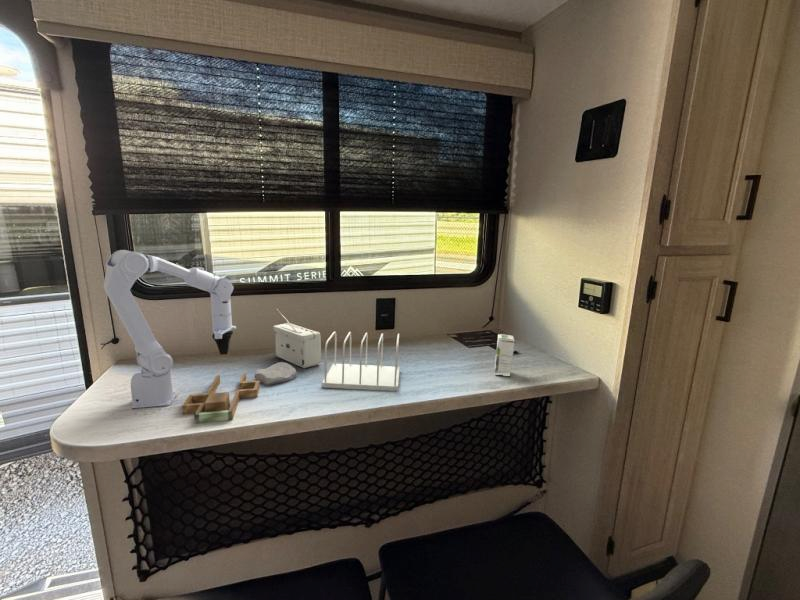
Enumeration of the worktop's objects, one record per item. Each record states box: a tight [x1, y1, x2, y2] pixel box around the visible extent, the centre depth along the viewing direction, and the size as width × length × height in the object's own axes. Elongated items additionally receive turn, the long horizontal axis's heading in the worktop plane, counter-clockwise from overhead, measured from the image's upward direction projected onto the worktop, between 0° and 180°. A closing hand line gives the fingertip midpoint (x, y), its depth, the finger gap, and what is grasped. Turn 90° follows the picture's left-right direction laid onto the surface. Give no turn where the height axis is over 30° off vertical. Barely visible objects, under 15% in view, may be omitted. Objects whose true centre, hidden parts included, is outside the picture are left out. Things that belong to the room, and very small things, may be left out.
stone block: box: [254, 361, 298, 386], centre depth 126 cm, size 12×5×10 cm
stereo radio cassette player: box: [272, 308, 322, 369], centre depth 141 cm, size 21×8×20 cm, turn 50°
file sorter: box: [321, 331, 401, 392], centre depth 126 cm, size 25×17×16 cm
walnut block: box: [205, 391, 231, 412], centre depth 102 cm, size 5×6×4 cm
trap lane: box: [181, 373, 261, 424], centre depth 110 cm, size 18×27×2 cm
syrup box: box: [494, 333, 515, 374], centre depth 135 cm, size 6×6×14 cm
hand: (224, 353), depth 121 cm, fingers closed
